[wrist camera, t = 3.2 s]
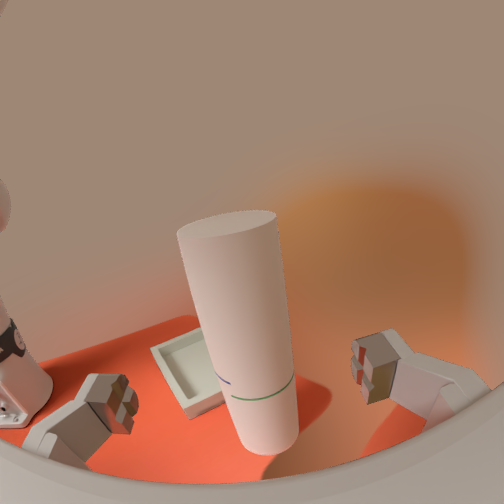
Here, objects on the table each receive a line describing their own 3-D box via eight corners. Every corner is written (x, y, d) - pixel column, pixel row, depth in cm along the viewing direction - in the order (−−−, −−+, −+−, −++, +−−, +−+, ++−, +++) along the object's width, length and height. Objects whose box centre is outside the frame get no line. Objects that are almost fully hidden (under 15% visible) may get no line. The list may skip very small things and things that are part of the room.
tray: (189, 420, 30) (183, 408, 29) (154, 358, 44) (149, 348, 43) (287, 366, 38) (286, 354, 37) (232, 324, 52) (230, 313, 51)
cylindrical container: (267, 401, 32) (231, 209, 24) (311, 425, 27) (296, 211, 19) (227, 434, 28) (159, 233, 20) (270, 465, 23) (216, 243, 15)
